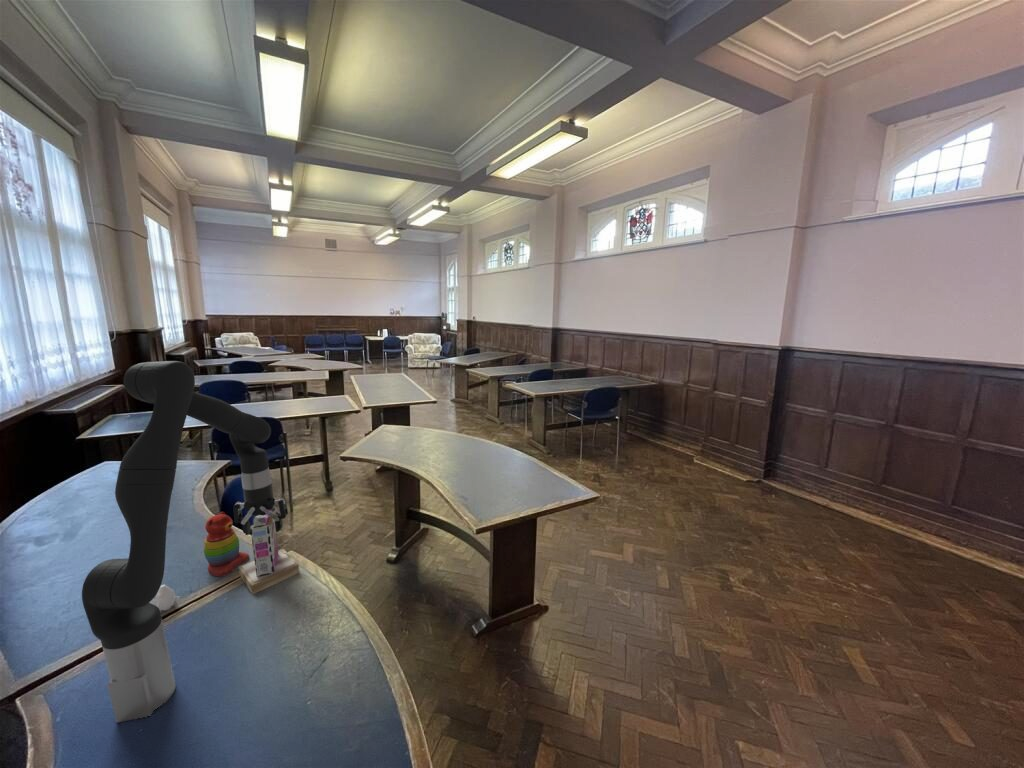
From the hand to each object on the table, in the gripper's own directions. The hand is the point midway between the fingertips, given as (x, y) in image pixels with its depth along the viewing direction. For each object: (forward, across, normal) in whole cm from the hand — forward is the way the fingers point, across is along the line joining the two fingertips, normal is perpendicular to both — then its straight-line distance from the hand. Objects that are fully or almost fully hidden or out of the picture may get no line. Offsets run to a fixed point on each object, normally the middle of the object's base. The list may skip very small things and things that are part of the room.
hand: (263, 532), depth 124 cm
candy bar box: (+12, 0, 0) cm, 12 cm away
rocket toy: (+15, -23, -10) cm, 29 cm away
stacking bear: (+15, -16, +8) cm, 23 cm away
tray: (+15, 0, 0) cm, 15 cm away
